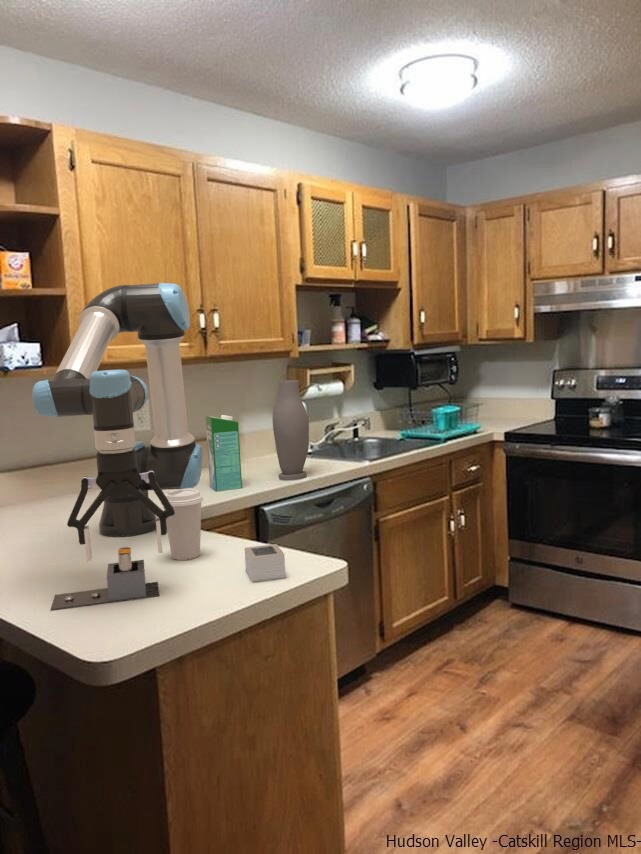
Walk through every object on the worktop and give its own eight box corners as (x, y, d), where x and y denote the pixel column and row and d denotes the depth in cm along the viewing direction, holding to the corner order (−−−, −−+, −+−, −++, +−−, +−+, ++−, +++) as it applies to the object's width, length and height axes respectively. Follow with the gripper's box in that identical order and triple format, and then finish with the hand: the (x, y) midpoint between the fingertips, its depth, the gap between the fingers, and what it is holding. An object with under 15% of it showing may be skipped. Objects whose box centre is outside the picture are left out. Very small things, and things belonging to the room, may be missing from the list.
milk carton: (242, 488, 237) (237, 414, 234) (216, 491, 234) (211, 417, 231) (235, 483, 245) (231, 412, 242) (210, 486, 242) (205, 415, 239)
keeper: (55, 596, 140) (51, 551, 138) (157, 583, 145) (154, 540, 143) (50, 610, 132) (46, 563, 131) (159, 596, 137) (155, 551, 136)
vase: (297, 481, 243) (292, 381, 240) (266, 479, 250) (262, 381, 246) (317, 475, 254) (313, 379, 251) (287, 473, 261) (283, 379, 258)
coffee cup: (188, 547, 169) (184, 486, 168) (215, 553, 163) (211, 490, 161) (156, 558, 162) (151, 494, 160) (183, 564, 156) (178, 499, 154)
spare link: (245, 570, 150) (244, 547, 150) (277, 566, 152) (276, 543, 151) (252, 582, 143) (250, 558, 142) (285, 577, 144) (284, 554, 144)
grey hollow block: (110, 587, 142) (108, 563, 142) (145, 583, 144) (143, 559, 143) (108, 601, 135) (106, 576, 134) (146, 596, 136) (144, 571, 136)
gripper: (45, 459, 129) (56, 569, 132) (182, 447, 135) (190, 552, 138) (49, 452, 136) (60, 557, 139) (180, 441, 142) (187, 542, 145)
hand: (125, 555), depth 139 cm, fingers open, 13 cm apart
